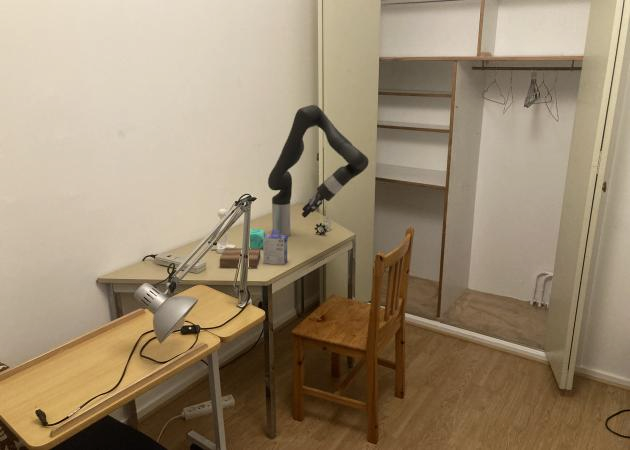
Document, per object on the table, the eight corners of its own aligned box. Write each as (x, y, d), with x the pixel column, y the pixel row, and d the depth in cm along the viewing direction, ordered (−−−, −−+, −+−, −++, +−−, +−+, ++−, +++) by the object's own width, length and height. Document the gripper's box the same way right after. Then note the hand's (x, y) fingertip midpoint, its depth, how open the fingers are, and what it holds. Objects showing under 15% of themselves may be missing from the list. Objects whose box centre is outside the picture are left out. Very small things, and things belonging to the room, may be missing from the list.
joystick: (236, 249, 254) (235, 208, 248) (230, 254, 246) (229, 212, 241) (214, 247, 256) (213, 206, 250) (208, 252, 249) (206, 211, 243)
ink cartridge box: (288, 261, 239) (287, 230, 235) (284, 265, 234) (284, 234, 230) (266, 259, 241) (266, 228, 237) (263, 263, 236) (262, 232, 232)
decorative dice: (246, 249, 253) (246, 233, 251) (248, 244, 261) (248, 228, 258) (263, 249, 253) (263, 233, 251) (265, 244, 261) (264, 228, 258)
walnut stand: (225, 256, 244) (225, 248, 243) (260, 256, 244) (260, 248, 243) (219, 267, 231) (219, 259, 229) (257, 268, 231) (256, 259, 229)
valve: (322, 228, 286) (314, 234, 276) (322, 216, 284) (314, 222, 274) (334, 229, 284) (326, 236, 273) (334, 217, 282) (326, 224, 271)
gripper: (323, 178, 234) (297, 203, 237) (324, 185, 220) (296, 211, 223) (335, 190, 235) (309, 214, 238) (336, 197, 221) (309, 224, 225)
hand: (303, 213), depth 231 cm, fingers open, 8 cm apart
